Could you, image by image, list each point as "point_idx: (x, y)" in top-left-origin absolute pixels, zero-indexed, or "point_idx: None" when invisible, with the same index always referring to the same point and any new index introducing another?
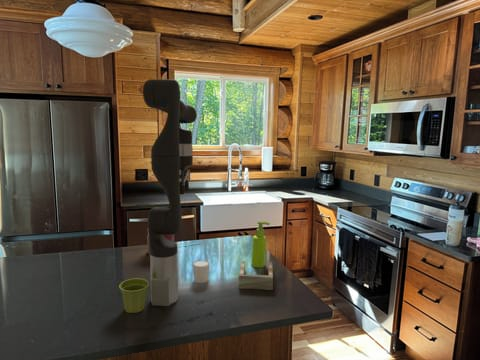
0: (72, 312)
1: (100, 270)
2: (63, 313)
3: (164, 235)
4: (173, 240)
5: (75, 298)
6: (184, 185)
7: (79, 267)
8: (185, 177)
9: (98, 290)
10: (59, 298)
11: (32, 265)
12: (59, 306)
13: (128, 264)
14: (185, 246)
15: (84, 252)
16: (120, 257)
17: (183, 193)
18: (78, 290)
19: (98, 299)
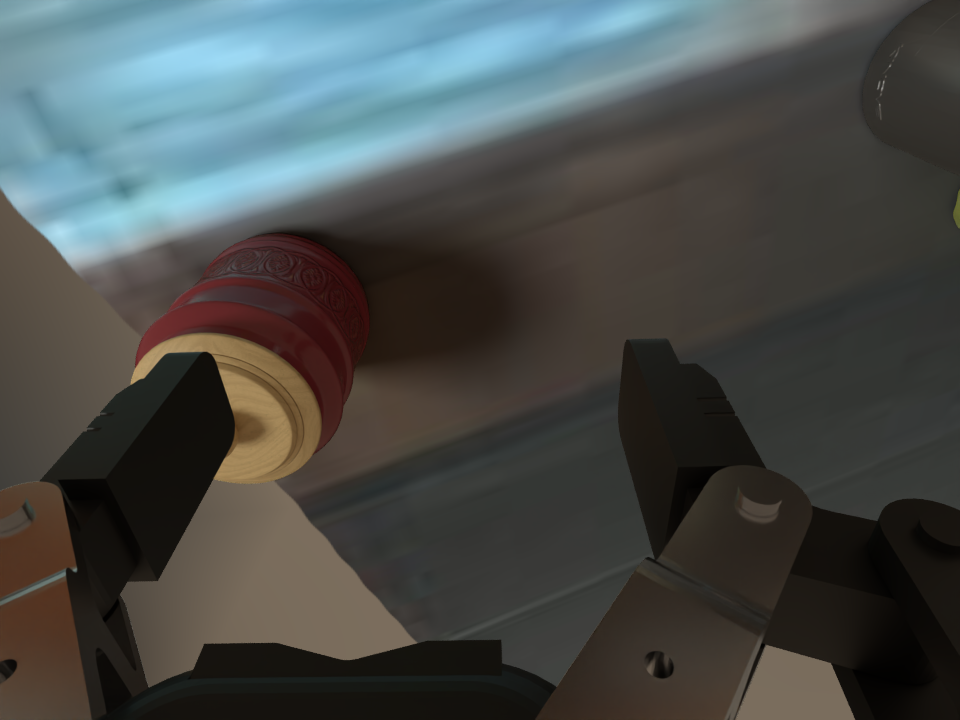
0: (956, 408)
1: (578, 474)
2: (956, 431)
3: (313, 333)
4: (247, 266)
5: (841, 446)
6: (182, 497)
7: (555, 547)
8: (736, 690)
9: (780, 404)
10: (831, 490)
11: (553, 663)
12: (896, 464)
13: (497, 399)
14: (127, 189)
15: (399, 594)
16: (419, 460)
17: (667, 346)
18: (771, 466)
19: (866, 371)
